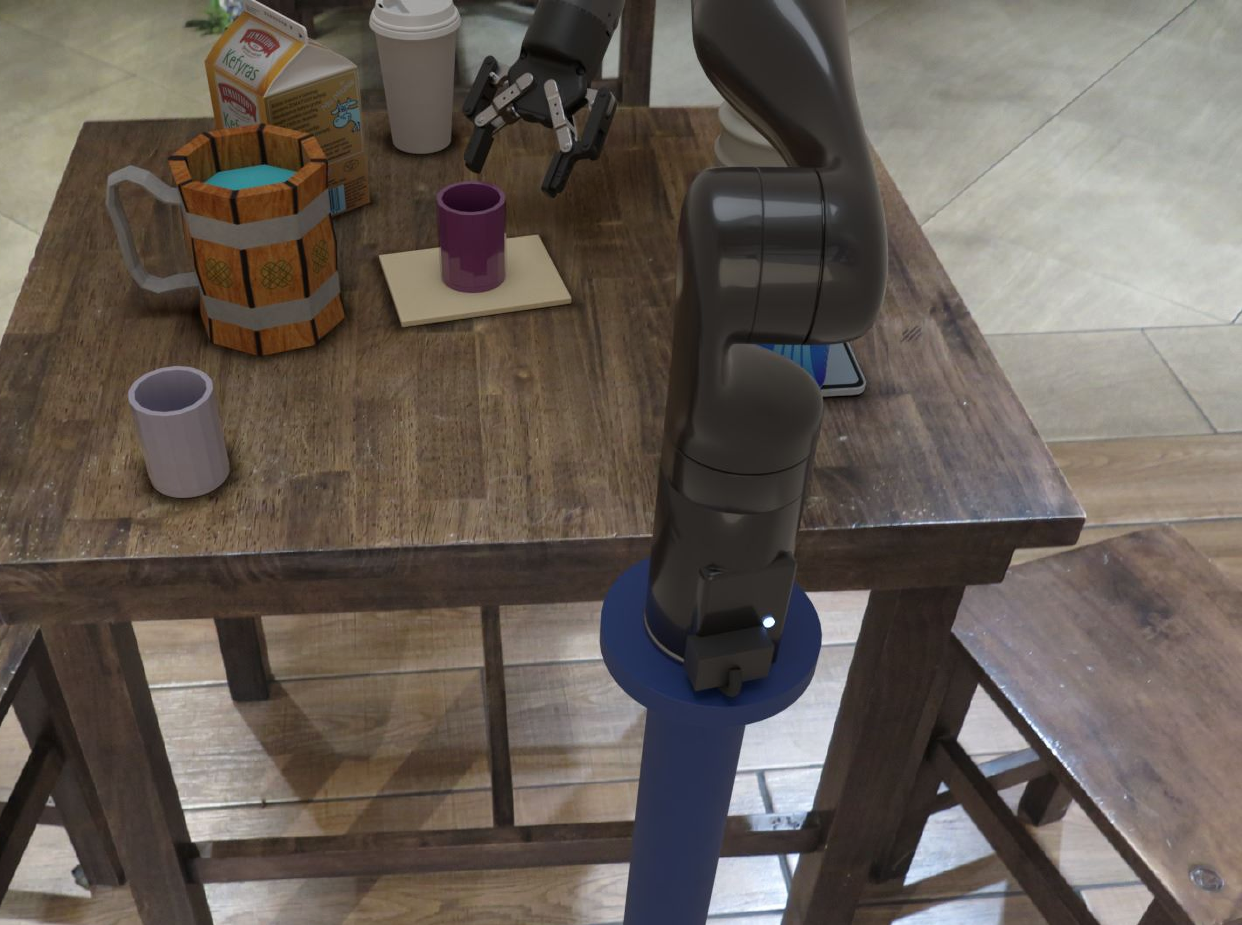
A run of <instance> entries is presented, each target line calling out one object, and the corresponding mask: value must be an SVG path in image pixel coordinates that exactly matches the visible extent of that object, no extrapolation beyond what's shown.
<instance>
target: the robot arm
mask: <svg viewBox="0 0 1242 925" xmlns="http://www.w3.org/2000/svg"><path fill="white" fill-rule="evenodd" d="M626 1H627V0H538V2H537V5H536V7H535V10H534V12H533V15H532V17H531V19H530V22H529V25H528V27H527V29H526V32H525V34H524V37H523V39H522V42H521V45H520V52H519V56H518V58H517V59H516V61H515V62H514V63H513V64H512V65H511V66H510V65H507V64H504V63H502V62H499V61H498V60H497V59H496V58H495V56H494V55H491V54H490V55H487V56H485V58H484V59H483V61H482V64H481V65H480V68H479V69H478V72H477V74H476V77H475V79H474V81H473V83H472V85H471V87H470V90H469V91H468V94H467V96H466V98H465V100H464V103H463V104H462V106H461V113H462V114H463V115H464V116H465V117H466V118H467V119H468V120H469V121H470V122H471V123H472V124H473V131H472V133H471V136H470V138H469V140H468V144H467V145H466V148H465V151H464V153H463V160H464V161H465V162H464V163H465V164H464V166H465V168H466V169H468V170H469V171H470V172H471V173H473V174H474V173H475V174H477V175H479V174H481V172H482V171H483V168H484V165H485V163H486V161H487V159H488V156H489V153H490V151H491V148H492V146H493V144H494V141H495V138H494V137H493V136H495V135H496V134H497V133H499V132H500V131H501V130H502V129H504V128H505V127H507V126H511V125H514V124H515V123H517V122H518V121H520V120H521V119H522V120H523V121H524V122H527V123H531V124H540V125H541V126H543V127H545V128H546V129H550V130H555V134H556V137H557V142H558V145H559V151H555V152H554V154H553V157H552V159H551V161H550V164H549V166H548V169H547V171H546V174H545V176H544V178H543V180H542V183H541V187H540V190H541V192H542V193H543V194H544V195H545V196H546V197H547V198H551V199H556V197H557V195H558V194H560V195H561V194H562V193H563V192H564V190H565V188H566V186H567V183H568V181H569V179H570V176H571V174H572V171H573V169H574V166H575V165H576V164H577V162H579V161H582V160H590V161H592V162H594V161H595V162H596V161H597V160H598V159H599V158H600V156H601V154H602V151H603V148H604V145H605V142H606V139H607V136H608V134H609V131H610V128H611V124H612V122H613V120H614V116H615V114H616V111H617V108H618V104H619V103H618V101H617V99H616V96H614V94H613V93H612V92H611V91H610V89H609V88H608V87H605V86H603V87H600V88H599V89H594V88H592V83H593V81H594V80H595V79H596V77H597V75H598V73H599V71H600V68H601V65H602V63H603V60H604V58H605V55H606V53H607V50H608V49H609V46H610V43H611V41H612V39H613V36H614V34H615V31H616V30H617V28H618V26H619V23H620V18H621V16H622V13H623V11H624V8H625V4H626ZM846 2H847V1H846V0H690V9H691V10H690V11H691V35H692V43H693V49H694V51H695V55H696V58H697V61H698V62H699V65H700V67H701V68H702V71H703V73H704V74H705V76H706V78H707V79H708V81H709V82H710V84H711V85H712V86H713V87H714V88H715V90H716V91H717V93H719V95H720V96H721V97H722V98H723V100H726V101H727V102H728V103H729V104H730V105H731V107H732V108H733V109H734V110H735V111H736V112H738V113H739V114H740V115H741V116H742V117H743V118H744V119H745V120H746V121H747V122H748V123H749V124H750V125H751V126H752V127H753V128H754V129H755V130H756V131H758V132H759V133H760V134H761V135H762V136H763V137H764V138H765V139H766V140H767V141H768V142H769V143H770V144H771V145H772V146H773V147H774V148H775V150H776V151H777V152H778V153H779V154H780V156H781V157H782V158H783V160H784V162H785V163H786V165H787V167H746V166H721V167H714V166H711V167H707V168H704V169H702V170H700V171H699V172H698V173H697V174H696V175H695V176H694V177H693V179H692V180H691V182H690V184H689V186H688V188H687V189H686V192H685V195H684V197H683V201H682V205H681V210H680V215H679V222H678V229H677V238H676V239H677V240H676V253H675V254H676V255H675V284H674V285H675V286H674V312H673V314H674V315H673V333H672V334H673V336H672V346H671V347H672V348H671V356H670V369H669V378H668V387H667V395H666V396H667V397H666V404H665V411H664V412H665V413H664V420H663V421H664V422H663V431H662V441H661V451H660V457H659V468H658V479H657V487H656V497H655V506H654V510H655V511H654V518H653V527H652V538H651V548H650V556H649V557H650V566H649V576H648V589H647V599H646V602H645V606H644V613H643V623H644V628H645V631H646V634H647V636H648V638H649V640H650V641H651V643H652V644H653V645H654V646H655V648H656V649H657V650H658V651H659V652H660V653H662V654H663V655H664V656H665V657H667V658H668V659H670V660H672V661H673V662H675V663H677V664H679V665H681V666H684V669H685V671H686V673H687V675H688V677H689V679H690V682H691V684H692V686H693V688H694V690H695V691H699V690H704V689H709V688H714V687H717V688H718V690H719V691H721V692H722V693H724V694H725V695H727V696H730V697H734V696H736V695H738V694H739V692H740V690H741V686H742V682H744V681H749V680H754V679H759V678H764V677H768V675H769V670H770V666H771V664H772V663H775V662H776V661H777V656H778V652H779V647H780V643H781V638H782V633H783V629H784V624H785V619H786V615H787V610H788V605H789V601H790V596H791V592H792V587H793V582H795V577H796V573H797V568H798V561H797V559H796V558H795V551H796V546H797V543H798V542H797V541H798V537H799V532H800V528H801V527H800V526H801V523H802V522H801V521H802V517H803V513H804V508H805V504H806V498H807V492H808V488H809V484H810V481H811V475H812V471H813V466H814V460H815V457H816V451H817V447H818V443H819V439H820V434H821V430H822V429H821V428H822V426H823V420H824V412H825V405H824V397H823V396H822V393H821V390H820V388H819V386H818V384H817V383H816V381H815V380H814V378H813V377H812V376H811V375H810V374H809V373H808V372H807V371H806V370H805V369H804V368H803V367H801V366H800V365H799V364H797V363H796V362H794V361H792V360H791V359H789V358H787V357H785V356H783V355H781V354H779V353H777V352H774V351H772V350H769V349H767V348H764V347H761V346H759V345H756V344H768V345H832V344H841V343H847V342H849V343H851V342H854V341H856V340H858V339H861V338H862V337H864V336H865V335H866V334H867V333H868V332H869V331H870V329H871V328H872V327H873V326H874V324H875V323H876V321H877V319H878V317H879V315H880V313H881V310H882V308H883V304H884V301H885V297H886V291H887V283H888V274H889V243H888V242H889V240H888V231H887V229H888V228H887V221H886V220H887V219H886V217H885V216H886V215H885V214H886V213H885V208H884V203H883V198H882V194H881V188H880V185H879V181H878V175H877V171H876V167H875V164H874V161H873V157H872V153H871V149H870V145H869V141H868V138H867V134H866V130H865V126H864V123H863V122H864V121H863V118H862V114H861V110H860V106H859V102H858V98H857V92H856V88H855V87H856V86H855V81H854V75H853V67H852V58H851V50H850V49H851V48H850V40H849V28H848V16H847V15H848V14H847V3H846ZM505 82H507V84H508V88H506V89H504V91H503V92H501V93H500V94H499V95H497V96H496V94H497V92H498V90H499V88H503V87H504V84H505ZM495 96H496V97H495ZM510 105H512V106H511V107H509V106H510ZM586 105H587V108H588V111H589V115H588V117H587V121H586V123H585V126H584V129H583V132H582V135H581V137H580V140H579V139H578V137H579V133H578V129H577V128H578V127H577V124H576V120H575V116H574V115H575V114H577V113H578V112H579V111H580V110H582V109H583V108H585V106H586Z"/></svg>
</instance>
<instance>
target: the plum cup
mask: <svg viewBox="0 0 1242 925" xmlns="http://www.w3.org/2000/svg"><path fill="white" fill-rule="evenodd" d="M435 200H436V201H435V202H436V203H435V204H436V222H437V224H436V225H437V237H438V240H437V242H438V247H439V264H440V272H441V280H442V282H443V283H444V284H445V285H446V286H447V287H449V288H451V289H453V290H456V291H459V292H465V293H481V292H486V291H490V290H492V289H495V288H497V287H498V286H500V285H501V284H502V283H503V282H504V280H505V278H506V269H507V256H506V239H507V196H506V194H505V192H504V190H503V189H502V188H500V187H498V185H495V184H492V183H489V182H485V181H478V180H466V181H465V180H464V181H459V182H454V183H452V184H449V185H446V186H445V187H443V188H442V189H440V190H439V191H438V193H437V195H436V198H435Z"/></svg>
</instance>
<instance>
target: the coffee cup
mask: <svg viewBox="0 0 1242 925" xmlns="http://www.w3.org/2000/svg"><path fill="white" fill-rule="evenodd" d="M461 24H462V19H461V15H460V12H459V10H458V8H457V6H456V5H455V4H454V0H375V4H374V7H373V9H372V10H371V12H370V16H369V21H368V25H369V28H370V30H372V31H373V32H374V35H375V41H376V47H377V53H378V59H379V64H380V71H381V76H382V83H383V89H384V95H385V96H384V97H385V102H386V108H387V114H388V122H389V127H390V133H391V139H392V144H393V145H394V148H396V149H398V150H400V151H402V152H404V153H407V154H414V155H415V154H416V155H426V154H433V153H437V152H440V151H442V150H444V149H446V148H448V147H449V145H450V144H451V142H452V128H453V126H452V125H453V109H454V108H453V107H454V105H453V104H454V86H455V85H454V84H455V65H456V64H455V62H456V47H457V46H456V45H457V31H458V29H459V28H460V26H461Z"/></svg>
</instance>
